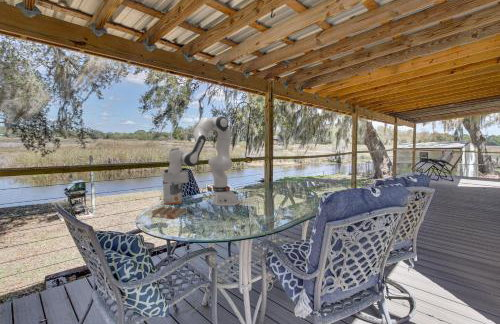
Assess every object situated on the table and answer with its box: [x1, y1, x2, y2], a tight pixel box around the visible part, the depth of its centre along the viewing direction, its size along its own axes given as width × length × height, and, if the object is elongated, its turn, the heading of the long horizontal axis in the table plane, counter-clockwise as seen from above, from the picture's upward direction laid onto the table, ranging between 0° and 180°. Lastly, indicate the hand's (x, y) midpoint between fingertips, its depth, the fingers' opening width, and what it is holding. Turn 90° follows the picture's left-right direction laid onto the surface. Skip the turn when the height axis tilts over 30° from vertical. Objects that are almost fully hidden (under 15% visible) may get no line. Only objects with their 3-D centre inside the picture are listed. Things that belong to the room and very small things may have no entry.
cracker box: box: [162, 180, 183, 205], centre depth 236 cm, size 14×6×21 cm, turn 84°
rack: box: [151, 205, 188, 220], centre depth 203 cm, size 19×17×4 cm
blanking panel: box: [170, 183, 183, 195], centre depth 210 cm, size 3×12×7 cm, turn 162°
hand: (176, 188), depth 210 cm, fingers closed on blanking panel, 3 cm apart
